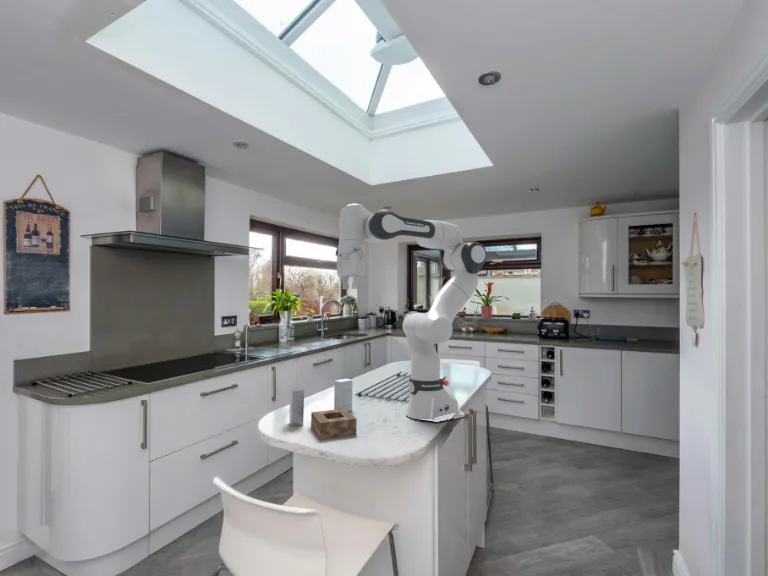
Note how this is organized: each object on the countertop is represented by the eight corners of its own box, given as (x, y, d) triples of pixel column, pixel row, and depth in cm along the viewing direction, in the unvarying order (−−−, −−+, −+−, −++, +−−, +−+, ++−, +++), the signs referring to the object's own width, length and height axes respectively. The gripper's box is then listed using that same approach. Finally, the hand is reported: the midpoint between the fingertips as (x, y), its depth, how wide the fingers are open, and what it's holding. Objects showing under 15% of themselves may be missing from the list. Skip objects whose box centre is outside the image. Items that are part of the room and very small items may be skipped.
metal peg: (300, 421, 133) (301, 387, 133) (303, 425, 129) (304, 390, 130) (289, 422, 131) (290, 388, 132) (291, 426, 128) (292, 391, 128)
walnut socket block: (344, 422, 132) (344, 408, 133) (356, 434, 122) (356, 418, 122) (311, 427, 127) (311, 412, 128) (320, 439, 117) (320, 423, 117)
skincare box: (345, 408, 150) (346, 378, 151) (352, 410, 147) (353, 379, 148) (333, 411, 146) (334, 380, 147) (340, 413, 143) (340, 382, 144)
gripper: (370, 246, 124) (369, 288, 123) (350, 253, 142) (349, 289, 142) (352, 245, 121) (351, 288, 121) (334, 252, 140) (333, 289, 139)
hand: (350, 289), depth 131 cm, fingers open, 8 cm apart
